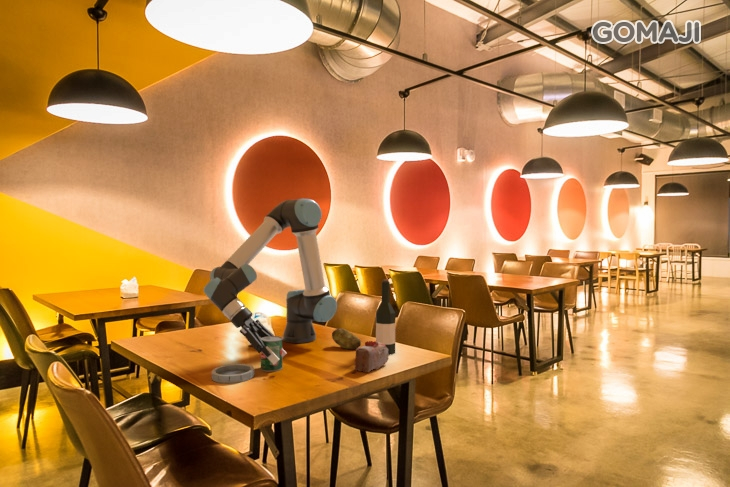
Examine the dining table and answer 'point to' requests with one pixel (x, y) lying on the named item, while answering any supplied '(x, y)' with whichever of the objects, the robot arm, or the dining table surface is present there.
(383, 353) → the food item
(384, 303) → the wine bottle
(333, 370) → the dining table surface
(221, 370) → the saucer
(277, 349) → the canned tomato
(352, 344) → the potato
